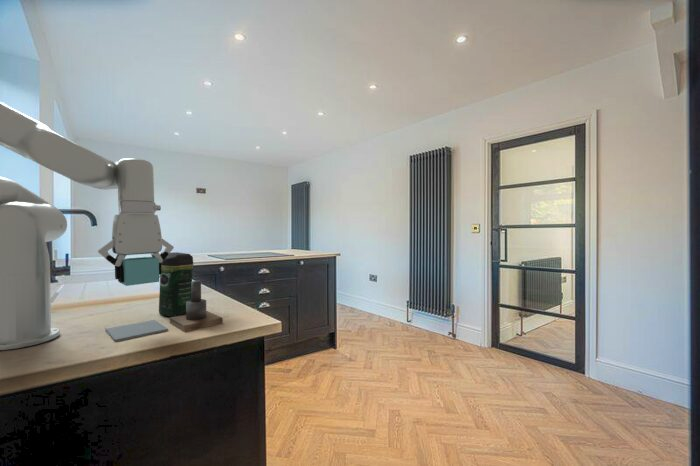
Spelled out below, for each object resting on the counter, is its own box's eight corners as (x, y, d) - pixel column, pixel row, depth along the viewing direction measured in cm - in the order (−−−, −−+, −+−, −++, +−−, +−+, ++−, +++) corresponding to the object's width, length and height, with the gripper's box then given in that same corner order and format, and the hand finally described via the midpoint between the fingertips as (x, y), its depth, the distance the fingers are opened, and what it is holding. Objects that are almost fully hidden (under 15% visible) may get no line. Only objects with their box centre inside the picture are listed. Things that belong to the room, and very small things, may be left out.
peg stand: (183, 331, 80) (183, 286, 80) (170, 323, 87) (170, 281, 87) (222, 323, 88) (222, 281, 87) (207, 315, 94) (207, 277, 94)
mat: (115, 341, 73) (115, 339, 73) (105, 330, 80) (105, 328, 80) (168, 330, 81) (168, 328, 81) (154, 321, 88) (154, 319, 88)
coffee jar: (198, 312, 98) (198, 252, 97) (172, 319, 91) (172, 254, 90) (179, 308, 102) (179, 250, 102) (154, 314, 96) (153, 252, 95)
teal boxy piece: (119, 282, 80) (118, 258, 80) (150, 278, 86) (150, 256, 85) (126, 285, 76) (125, 260, 75) (159, 281, 81) (158, 258, 81)
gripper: (169, 210, 89) (171, 274, 89) (90, 209, 76) (92, 283, 77) (179, 209, 84) (181, 276, 84) (96, 207, 71) (98, 286, 72)
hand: (139, 279), depth 81 cm, fingers closed on teal boxy piece, 7 cm apart
